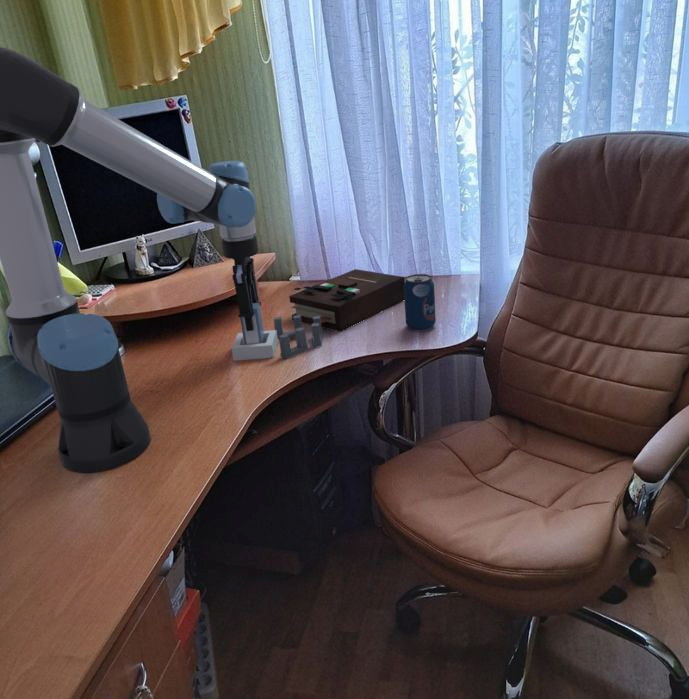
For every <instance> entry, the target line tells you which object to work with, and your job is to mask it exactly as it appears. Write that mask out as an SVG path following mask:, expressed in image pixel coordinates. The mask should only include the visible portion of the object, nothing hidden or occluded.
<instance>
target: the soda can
mask: <svg viewBox="0 0 689 699" xmlns="http://www.w3.org/2000/svg"><path fill="white" fill-rule="evenodd" d="M435 295H436V294H435V283H434V281H433V280H432V276H431V275H429V274H424V273H417V274H410V275H408V276H407V277H406V278H405V284H404V299H405V301H404V313H405V314H404V315H405V324H406V325H407V327H408V329H410V331H413V332H427V331H430V330H431V329H433V327H434V326H435V324H436V320H437V319H436V301H435V300H436V298H435Z"/></svg>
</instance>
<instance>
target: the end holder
mask: <svg viewBox="0 0 689 699" xmlns="http://www.w3.org/2000/svg"><path fill="white" fill-rule="evenodd" d="M263 331H264V338H263V341H262V343H251V344H244V339H243V333H242V332H237V334H236V337H235V340H234V342H233V344H232V346H231V348H230V349H231V355H232V359H233V361H234V362H235V361H245V360H246V361H248V360H261V359H273V357H274V358H275V355H276V352H277V347H278V344H279V339H278V337H277V330H275V329H274V330H273V329H272V330H263ZM275 351H276V352H275ZM271 357H272V358H271Z"/></svg>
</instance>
